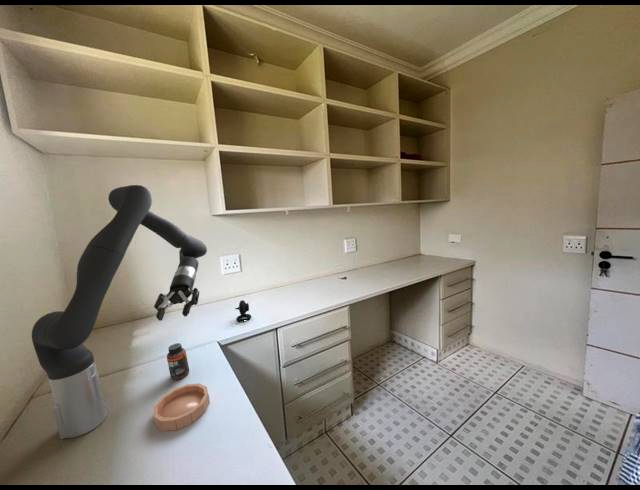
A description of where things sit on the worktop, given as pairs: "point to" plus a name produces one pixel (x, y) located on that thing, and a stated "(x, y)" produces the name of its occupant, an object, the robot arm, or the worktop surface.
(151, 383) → the worktop surface
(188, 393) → the bowl
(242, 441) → the worktop surface
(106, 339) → the worktop surface
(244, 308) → the webcam
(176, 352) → the supplement bottle
